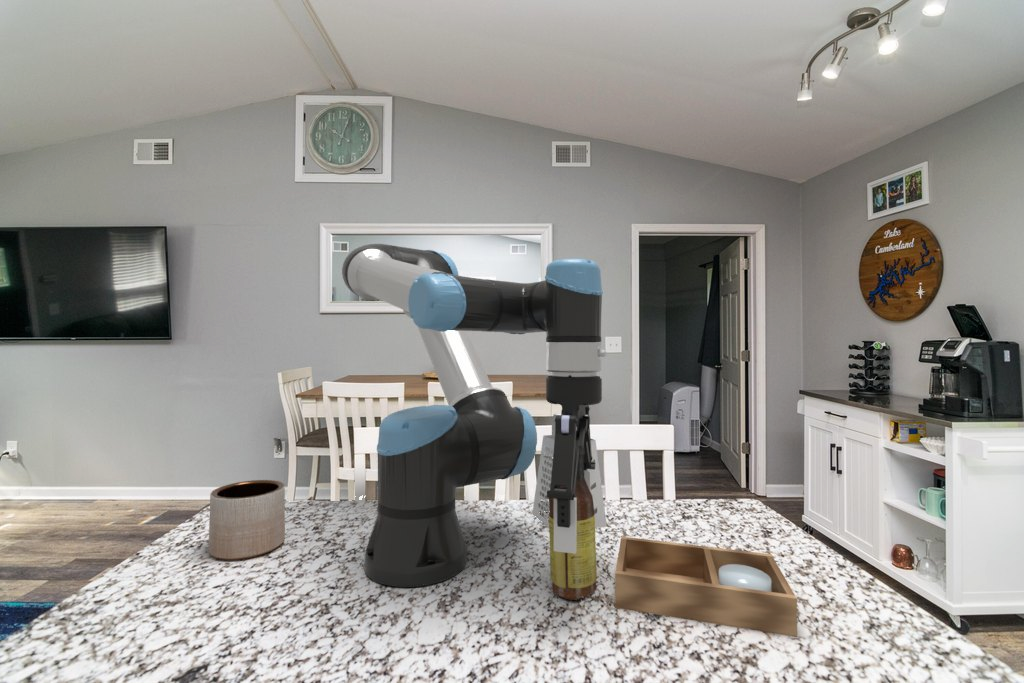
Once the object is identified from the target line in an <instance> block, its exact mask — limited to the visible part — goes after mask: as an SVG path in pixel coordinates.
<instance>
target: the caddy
mask: <svg viewBox="0 0 1024 683" xmlns="http://www.w3.org/2000/svg"><path fill="white" fill-rule="evenodd" d="M728 564H738V565H745V566H749V567H753V568H756V569H758V570H761V571H763V572H764V573H766V574H767V575H768V576H769V577H770V578H771V592H768V591H761V590H753V589H746V588H739V587H732V586H725V585H720V584H719V568H720V567H722V566H724V565H728ZM778 565H779V564H777V561H776V560H775V558H774V556H773V554H771V553H764V552H754V551H747V550H746V551H745V550H738V549H730V548H721V547H713V546H705V545H696V544H688V543H680V542H678V543H677V542H672V541H671V542H670V541H663V540H662V541H661V540H653V539H645V538H637V537H629V536H621V537H620V543H619V549H618V555H617V560H616V566H615V573H614V574H615V576H614V578H615V579H614V584H615V585H614V591H615V592H614V608H615V609H619V610H620V609H621V610H625V611H634V612H640V613H646V614H650V615H651V614H652V615H658V616H664V617H671V618H677V619H683V620H689V621H695V622H701V623H706V624H715V625H720V626H727V627H731V628H732V627H733V628H739V629H746V630H749V631H750V630H752V631H756V632H757V631H758V632H764V633H768V634H769V633H771V634H776V635H780V636H789V637H795V638H797V637H798V598H797V596H796V595H795V592H794V591H793V590H792V588H791V586H790V585H789V583H788V581H787V579H786V578H785V576H784V574H783V572H782V570H781V569H780V567H779V566H778Z"/></svg>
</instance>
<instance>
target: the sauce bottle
mask: <svg viewBox="0 0 1024 683" xmlns="http://www.w3.org/2000/svg"><path fill="white" fill-rule="evenodd" d="M584 454H585V451H584V447H583V449H582V450H581V451H579V457H578V467H577V476H576V486H575V497H576V498H577V552H576V554H573V553H565V552H557V551H554V498H548V501H549V511H550V512H549V517H548V522H549V528H548V529H549V571H550V575H549V576H550V581H551V585H552V586H551V587H552V590H553V592H554V595H557V596H559V597H560V598H564V599H565V600H568V601H581V600H582V597H588V596H590V595H591V594H593V593H594V592H596V590H597V579H598V577H597V576H598V575H597V573H598V572H597V569H598V568H597V552H596V550H597V546H596V528H595V513H594V505H593V497H592V494H591V492H590V490H589V488H588V485H587V483H586V481H585V478H584V464H583V456H584ZM560 488H567V487H566V486H560Z"/></svg>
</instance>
